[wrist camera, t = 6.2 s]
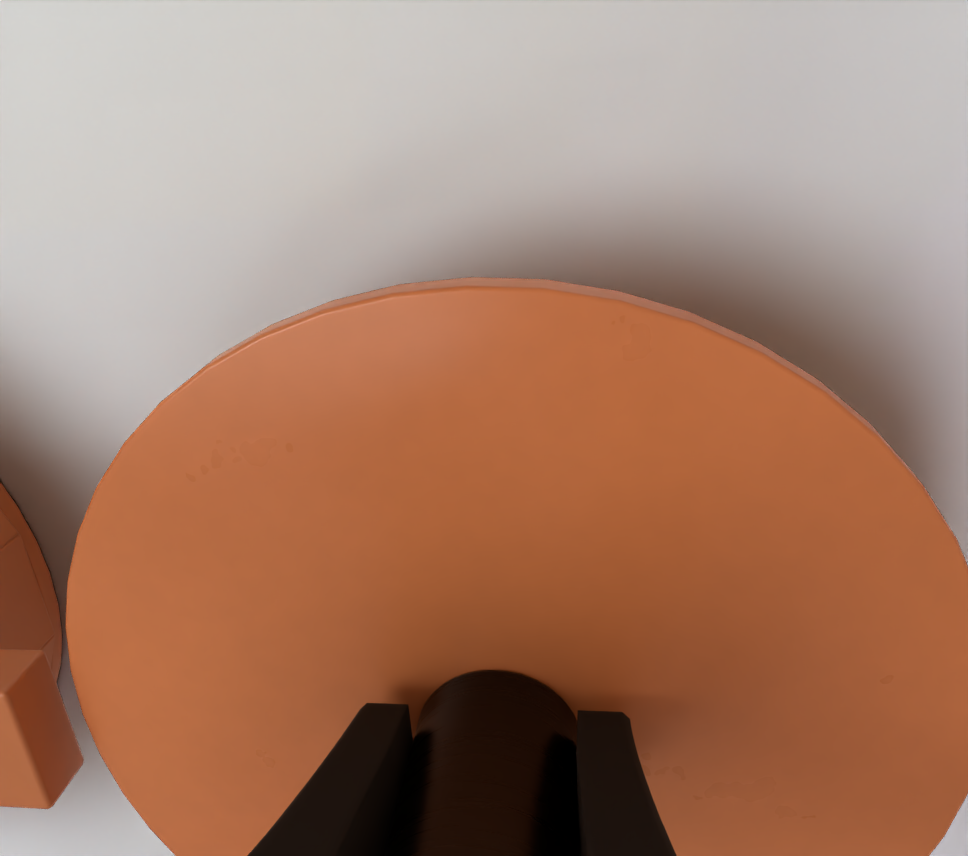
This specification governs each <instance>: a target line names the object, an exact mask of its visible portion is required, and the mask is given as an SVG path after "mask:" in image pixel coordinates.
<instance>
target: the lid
mask: <svg viewBox="0 0 968 856" xmlns="http://www.w3.org/2000/svg"><path fill="white" fill-rule="evenodd" d="M66 635H67V643H68V652H69V660H70V669H71V674H72V677H73V681H74V685H75V688H76V692H77V696H78V699H79V703H80V706H81V710H82V714H83V716H84V718H85V721H86V723H87V725H88V728H89V730H90V732H91V735H92V737H93V739H94V742H95V744H96V746H97V749H98V751H99V753H100V755H101V757H102V759H103V760H104V762H105V764H106V765H107V767H108V769H109V771H110V772H111V774H112V776H113V777H114V779H115V781H116V782H117V784H118V786H119V787H120V789H121V791H122V792H123V794H124V795H125V797H126V798H127V799H128V800H129V802H130V803H131V804H132V806H133V807H134V808H135V810H136V811H137V812H138V814H139V815H140V816H141V817H142V819H143V820H144V821H145V823H146V824H147V825H148V827H149V828H150V829H151V830H152V831H153V832H154V833H155V834H156V835H157V837H158V838H159V839H160V840H161V841H162V842H163V843H164V844H165V845H166V846H167V847H168V848H169V849H170V850H171V851H172V852H173V853H174V854H175V855H176V856H247V855H248V854H249V853H250V852H251V851H252V850H253V849H254V847H255V846H256V845H257V844H258V843H259V842H260V840H261V839H262V838H263V837H264V836H265V835H266V833H267V832H268V831H269V830H270V829H271V827H272V826H273V825H274V824H275V823H276V821H277V820H278V819H279V818H280V816H281V815H282V814H283V812H284V811H285V810H286V809H287V807H288V806H289V805H290V804H291V802H292V801H293V800H294V799H295V797H296V796H297V795H298V793H299V792H300V791H301V790H302V788H303V787H304V786H305V785H306V783H307V782H308V781H309V779H310V778H311V777H312V775H313V774H314V773H315V771H316V770H317V769H318V767H319V766H320V765H321V763H322V762H323V761H324V759H325V758H326V757H327V755H328V754H329V753H330V751H331V750H332V748H333V747H334V746H335V744H336V743H337V741H338V740H339V739H340V737H341V736H342V734H343V733H344V732H345V730H346V729H347V727H348V726H349V724H350V723H351V722H352V720H353V719H354V717H355V716H356V714H357V713H358V711H359V710H360V709H361V708H362V707H363V706H364V705H365V704H366V703H387V704H408V706H409V714H410V721H411V729H412V736H413V744H412V748H411V752H410V756H409V760H408V764H407V767H406V771H405V775H404V779H403V783H402V787H401V791H400V795H399V799H398V803H397V807H396V811H395V815H394V818H393V822H392V826H391V830H390V834H389V838H388V842H387V846H386V850H385V854H384V856H580V836H579V820H578V800H577V758H576V749H577V715H578V710H584V711H612V712H623V713H624V714H625V715H626V716H627V717H629V718H630V722H631V728H632V733H633V737H634V742H635V746H636V749H637V753H638V756H639V760H640V763H641V766H642V769H643V772H644V775H645V778H646V781H647V784H648V786H649V789H650V792H651V795H652V798H653V800H654V803H655V805H656V808H657V811H658V813H659V816H660V818H661V820H662V823H663V825H664V827H665V830H666V832H667V834H668V837H669V839H670V841H671V844H672V846H673V848H674V851H675V853H676V855H677V856H929V855H930V854H931V853H932V851H933V850H934V849H935V848H936V846H937V845H938V844H939V842H940V841H941V840H942V839H943V837H944V836H945V834H946V832H947V830H948V829H949V827H950V825H951V823H952V821H953V820H954V818H955V816H956V814H957V812H958V811H959V809H960V807H961V805H962V803H963V801H964V800H965V798H966V796H967V794H968V565H967V563H966V560H965V558H964V555H963V553H962V551H961V548H960V546H959V543H958V541H957V538H956V537H955V535H954V534H953V532H952V530H951V529H950V527H949V526H948V524H947V522H946V521H945V519H944V518H943V516H942V514H941V513H940V511H939V510H938V508H937V506H936V505H935V503H934V502H933V500H932V499H931V497H930V495H929V494H928V492H927V491H926V489H925V487H924V486H923V484H922V483H921V482H920V481H919V479H918V478H917V477H916V476H915V474H914V473H913V472H912V471H911V469H910V468H909V467H908V466H907V465H906V464H905V463H904V461H903V460H902V459H901V458H900V457H899V456H898V455H897V453H896V452H895V451H894V450H893V449H892V448H891V447H890V446H889V444H888V443H887V442H886V441H885V440H884V439H883V438H882V436H881V435H880V434H879V433H878V432H877V431H876V430H875V428H874V427H873V426H872V425H871V424H870V423H869V422H868V421H867V420H866V419H864V418H863V417H862V416H861V415H860V414H858V413H857V412H856V411H855V410H854V409H852V408H851V407H850V406H849V405H848V404H846V403H845V402H844V401H843V400H842V399H840V398H839V397H838V396H837V395H836V394H835V393H833V392H832V391H831V390H830V389H829V388H827V387H826V386H825V385H824V384H823V383H821V382H820V381H819V380H818V379H816V378H815V377H813V376H811V375H810V374H808V373H807V372H805V371H803V370H802V369H800V368H799V367H797V366H795V365H794V364H792V363H790V362H789V361H787V360H786V359H784V358H782V357H781V356H779V355H778V354H776V353H774V352H773V351H771V350H770V349H768V348H766V347H765V346H763V345H761V344H760V343H758V342H756V341H754V340H752V339H750V338H747V337H745V336H743V335H741V334H738V333H736V332H734V331H732V330H729V329H727V328H725V327H723V326H720V325H718V324H716V323H714V322H711V321H709V320H707V319H705V318H702V317H700V316H698V315H696V314H693V313H691V312H688V311H685V310H681V309H678V308H675V307H671V306H668V305H664V304H661V303H658V302H654V301H651V300H648V299H644V298H641V297H637V296H634V295H631V294H627V293H624V292H620V291H616V290H609V289H603V288H597V287H590V286H584V285H578V284H572V283H565V282H559V281H553V280H547V279H520V278H486V277H467V278H457V279H447V280H437V281H428V282H418V283H408V284H399V285H395V286H391V287H386V288H382V289H378V290H374V291H370V292H366V293H362V294H357V295H353V296H349V297H345V298H341V299H337V300H332V301H330V302H327V303H325V304H322V305H320V306H317V307H315V308H312V309H310V310H307V311H305V312H302V313H300V314H297V315H295V316H292V317H289V318H287V319H284V320H282V321H279V322H277V323H274V324H272V325H270V326H268V327H267V328H265V329H263V330H261V331H260V332H258V333H256V334H254V335H253V336H251V337H249V338H248V339H246V340H244V341H242V342H241V343H239V344H237V345H235V346H234V347H232V348H230V349H228V350H227V351H225V352H223V353H222V354H220V355H218V356H217V357H216V358H215V359H213V360H212V361H211V362H210V363H208V364H207V365H206V366H205V367H203V368H202V369H201V370H200V371H198V372H197V373H196V374H195V375H193V376H192V377H191V378H190V379H188V380H187V381H186V382H185V383H184V384H182V385H181V386H180V387H179V388H177V389H176V390H175V391H174V392H172V393H171V394H170V395H169V396H167V397H166V398H165V399H164V400H162V401H161V402H160V403H159V404H158V405H157V407H156V408H155V409H154V410H153V411H152V412H151V413H150V414H149V416H148V417H147V418H146V419H145V420H144V421H143V422H142V423H141V424H140V426H139V427H138V428H137V429H136V430H135V431H134V432H133V433H132V435H131V436H130V437H129V438H128V439H127V440H126V441H125V442H124V444H123V445H122V447H121V448H120V450H119V452H118V453H117V455H116V456H115V458H114V460H113V461H112V463H111V464H110V466H109V468H108V469H107V471H106V472H105V474H104V476H103V477H102V479H101V480H100V482H99V484H98V485H97V487H96V489H95V492H94V494H93V497H92V499H91V502H90V504H89V506H88V509H87V511H86V514H85V516H84V519H83V521H82V524H81V526H80V529H79V531H78V534H77V539H76V543H75V548H74V553H73V557H72V562H71V567H70V571H69V576H68V581H67V603H66Z"/></svg>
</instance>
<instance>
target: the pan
mask: <svg viewBox="0 0 968 856" xmlns="http://www.w3.org/2000/svg"><path fill="white" fill-rule="evenodd" d="M61 651H62V630H61V621H60V613H59V605H58V601H57V597H56V594H55V590H54V586H53V583H52V579H51V575H50V572H49V570H48V567H47V565H46V562H45V560H44V558H43V555H42V553H41V550H40V548H39V546H38V543H37V541H36V539H35V537H34V535H33V533H32V532H31V530H30V528H29V526H28V524H27V523H26V521H25V519H24V517H23V515H22V514H21V512H20V510H19V508H18V506H17V505H16V504H15V502H14V501H13V499H12V498H11V496H10V495H9V494H8V492H7V491H6V489H5V488H4V487H3V485H2V484H1V482H0V806H3V807H21V808H39V809H49V808H51V807H52V806H53V805H54V804H55V802H56V801H57V800H58V798H59V797H60V795H61V794H62V793H63V791H64V790H65V788H66V787H67V786H68V784H69V783H70V781H71V780H72V779H73V777H74V776H75V774H76V773H77V772H78V770H79V769H80V767H81V766H82V765H83V761H84V759H83V756H82V753H81V750H80V747H79V745H78V742H77V739H76V736H75V734H74V731H73V728H72V725H71V722H70V720H69V717H68V714H67V711H66V709H65V706H64V703H63V700H62V698H61V695H60V692H59V689H58V686H57V684H56V683H57V678H58V674H59V670H60V665H61Z"/></svg>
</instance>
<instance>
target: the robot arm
mask: <svg viewBox="0 0 968 856" xmlns="http://www.w3.org/2000/svg"><path fill="white" fill-rule="evenodd" d="M412 744H413V736H412V729H411V721H410V714H409V706H408V704H387V703H366V704H365V705H364V706H363V707H362V708H361V709H360V710H359V711H358V713H357V714H356V716H355V717H354V719H353V720H352V722H351V723H350V724H349V726H348V727H347V729H346V730H345V732H344V733H343V734H342V736H341V737H340V739H339V740H338V741H337V743H336V744H335V746H334V747H333V748H332V750H331V751H330V753H329V754H328V755H327V757H326V758H325V759H324V761H323V762H322V763H321V765H320V766H319V767H318V769H317V770H316V771H315V773H314V774H313V775H312V777H311V778H310V779H309V781H308V782H307V783H306V785H305V786H304V787H303V788H302V790H301V791H300V792H299V793H298V795H297V796H296V797H295V799H294V800H293V801H292V802H291V804H290V805H289V806H288V807H287V809H286V810H285V811H284V812H283V814H282V815H281V816H280V818H279V819H278V820H277V821H276V823H275V824H274V825H273V826H272V827H271V829H270V830H269V831H268V832H267V833H266V835H265V836H264V837H263V838H262V839H261V840H260V842H259V843H258V844H257V845H256V846H255V847H254V849H253V850H252V851H251V852H250V853H249V854H248V855H247V856H384V854H385V850H386V846H387V842H388V838H389V834H390V830H391V826H392V822H393V818H394V815H395V811H396V807H397V803H398V799H399V795H400V791H401V787H402V783H403V779H404V775H405V771H406V767H407V764H408V760H409V756H410V752H411V748H412ZM576 758H577V800H578V820H579V836H580V856H677V855H676V853H675V851H674V848H673V846H672V844H671V841H670V839H669V837H668V834H667V832H666V830H665V827H664V825H663V823H662V820H661V818H660V816H659V813H658V811H657V808H656V805H655V803H654V800H653V798H652V795H651V792H650V789H649V786H648V784H647V781H646V778H645V775H644V772H643V769H642V766H641V763H640V760H639V756H638V753H637V749H636V746H635V742H634V737H633V733H632V728H631V722H630V718H629V717H627V716H626V715H625V714H624V713H623V712H612V711H584V710H578V715H577V749H576Z"/></svg>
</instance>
